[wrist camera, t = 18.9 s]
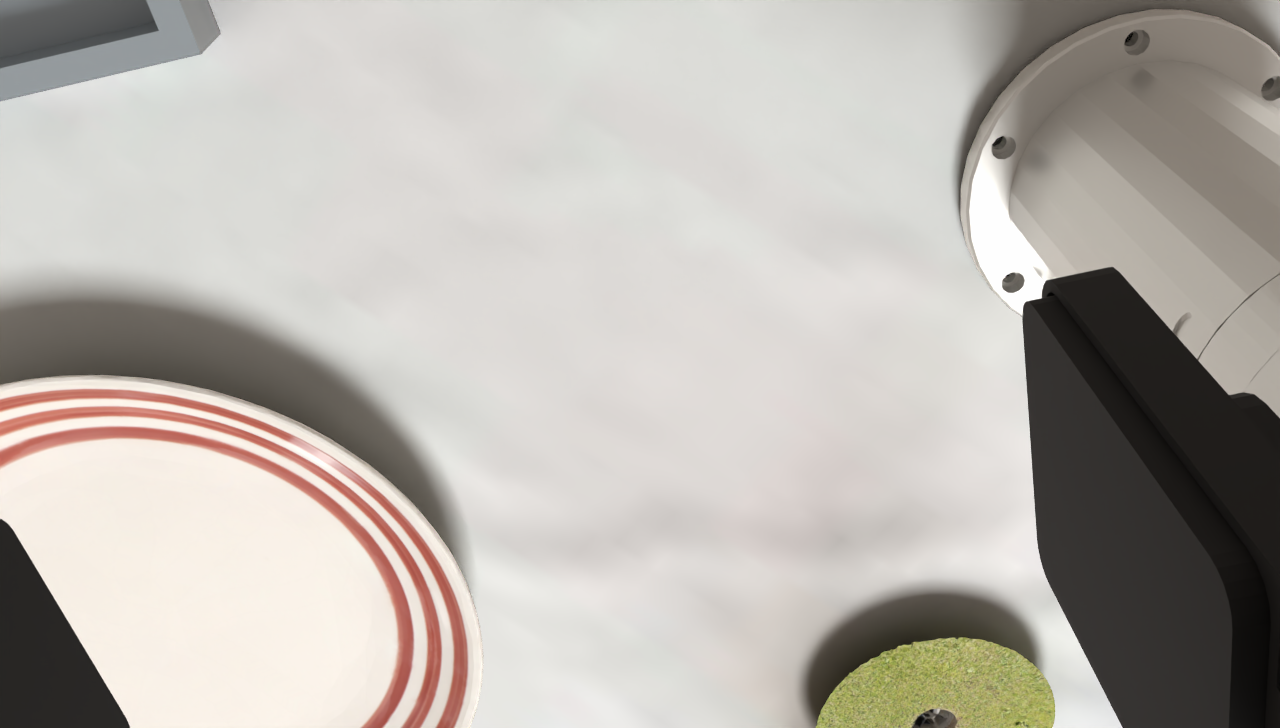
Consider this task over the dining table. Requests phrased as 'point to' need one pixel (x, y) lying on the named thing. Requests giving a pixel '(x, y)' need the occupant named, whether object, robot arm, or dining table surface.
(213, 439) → the dinner plate
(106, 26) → the grey square tray
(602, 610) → the dining table surface
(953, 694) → the mat
